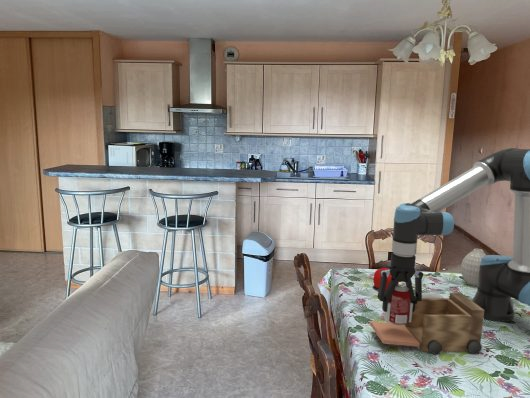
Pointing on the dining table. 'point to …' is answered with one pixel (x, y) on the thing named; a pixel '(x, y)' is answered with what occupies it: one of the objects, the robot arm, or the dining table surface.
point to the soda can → (400, 305)
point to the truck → (447, 324)
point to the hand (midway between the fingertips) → (397, 320)
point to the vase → (472, 266)
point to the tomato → (378, 277)
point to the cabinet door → (394, 334)
